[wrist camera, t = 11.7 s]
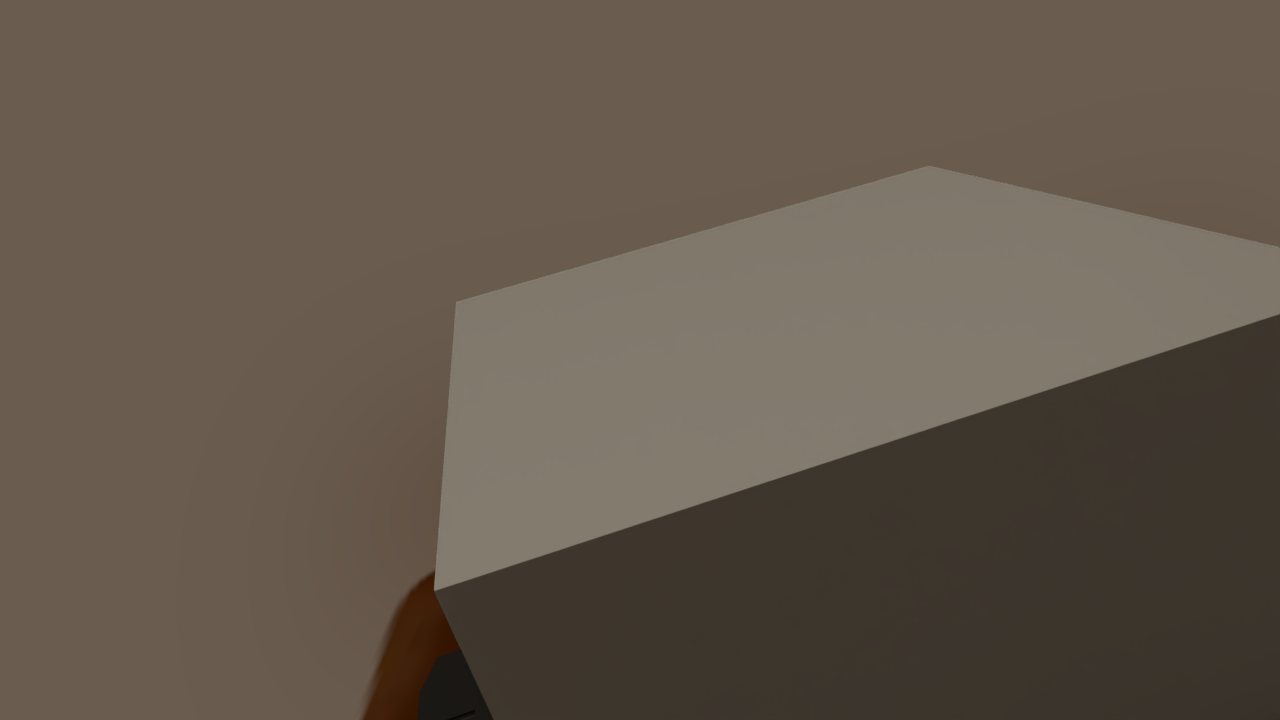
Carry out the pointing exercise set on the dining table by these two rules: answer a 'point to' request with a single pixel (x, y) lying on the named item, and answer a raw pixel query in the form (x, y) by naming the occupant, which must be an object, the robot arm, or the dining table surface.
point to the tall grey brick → (875, 469)
